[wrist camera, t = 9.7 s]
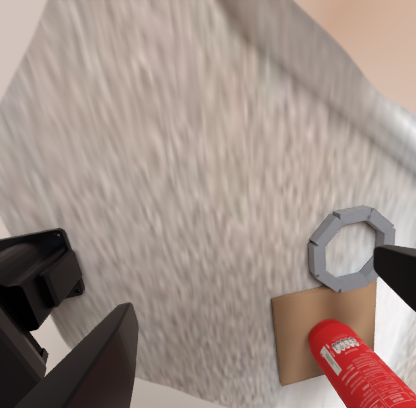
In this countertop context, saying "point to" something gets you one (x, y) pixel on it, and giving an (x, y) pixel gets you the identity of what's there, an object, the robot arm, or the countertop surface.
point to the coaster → (312, 314)
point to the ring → (328, 231)
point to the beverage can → (356, 369)
